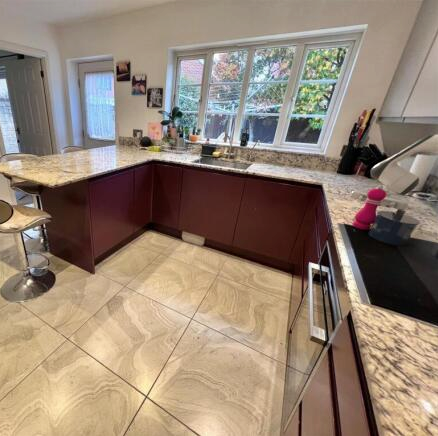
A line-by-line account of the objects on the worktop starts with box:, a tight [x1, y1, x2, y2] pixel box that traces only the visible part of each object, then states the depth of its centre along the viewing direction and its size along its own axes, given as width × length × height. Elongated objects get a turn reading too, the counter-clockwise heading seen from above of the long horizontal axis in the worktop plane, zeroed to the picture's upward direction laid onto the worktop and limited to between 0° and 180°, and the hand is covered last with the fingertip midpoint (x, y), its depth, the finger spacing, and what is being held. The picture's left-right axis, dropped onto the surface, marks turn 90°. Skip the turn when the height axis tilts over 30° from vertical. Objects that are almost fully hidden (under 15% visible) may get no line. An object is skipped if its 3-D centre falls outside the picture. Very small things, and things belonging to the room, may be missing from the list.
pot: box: [368, 214, 418, 247], centre depth 96 cm, size 12×12×10 cm
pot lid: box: [376, 209, 421, 226], centre depth 93 cm, size 13×13×4 cm
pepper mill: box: [352, 184, 386, 231], centre depth 103 cm, size 7×7×20 cm
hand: (374, 202), depth 106 cm, fingers open, 8 cm apart
